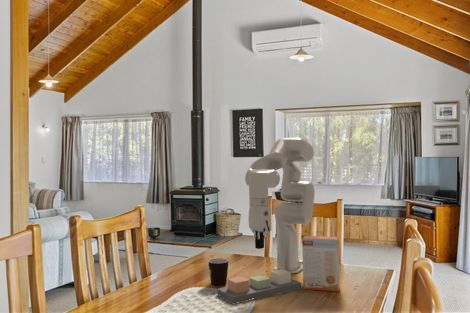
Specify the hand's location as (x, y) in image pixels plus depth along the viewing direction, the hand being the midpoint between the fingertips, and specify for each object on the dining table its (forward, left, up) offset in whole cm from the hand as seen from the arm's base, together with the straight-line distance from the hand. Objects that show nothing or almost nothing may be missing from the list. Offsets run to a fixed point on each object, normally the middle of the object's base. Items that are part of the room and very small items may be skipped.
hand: (259, 248), depth 173 cm
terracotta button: (+11, +1, -16) cm, 19 cm away
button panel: (+1, +1, -17) cm, 17 cm away
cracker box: (-22, +11, -18) cm, 30 cm away
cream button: (-9, +1, -16) cm, 18 cm away
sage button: (+1, +1, -17) cm, 17 cm away
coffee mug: (+9, -18, -18) cm, 27 cm away
